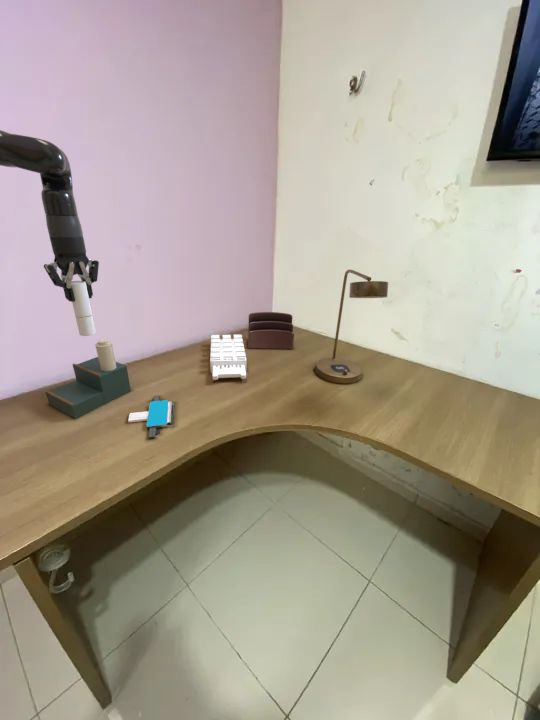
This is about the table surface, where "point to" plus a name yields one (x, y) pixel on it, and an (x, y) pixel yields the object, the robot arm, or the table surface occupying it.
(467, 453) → the table surface
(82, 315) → the tube
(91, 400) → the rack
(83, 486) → the table surface
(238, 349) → the organizer
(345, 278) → the lamp
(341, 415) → the table surface
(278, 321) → the letter holder
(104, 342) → the cream capped cylinder
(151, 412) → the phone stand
